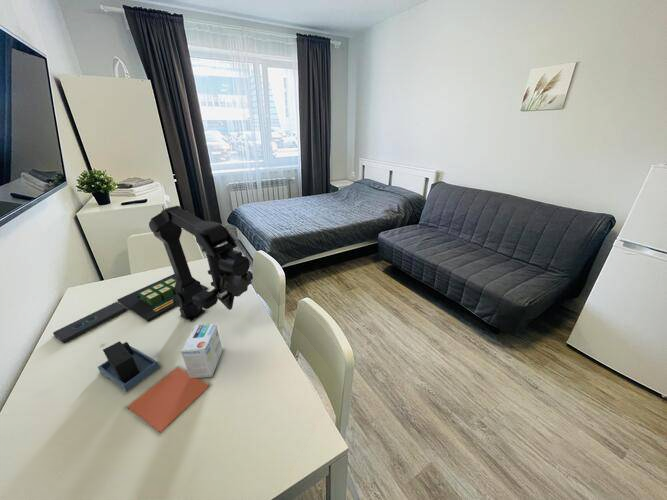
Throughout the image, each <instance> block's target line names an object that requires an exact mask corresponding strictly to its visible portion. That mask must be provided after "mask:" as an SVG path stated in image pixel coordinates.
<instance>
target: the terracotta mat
mask: <svg viewBox="0 0 667 500" xmlns="http://www.w3.org/2000/svg"><path fill="white" fill-rule="evenodd" d="M209 387H210V385H209V384H207V383H206V382H204V381H202V380H201V379H200V378H190V377H189V374H188V371H185V370H184V369H182V368H180V367H175V368H174V369H173V370H172V371H170V372H169V373H168V374H167V375H165V376H164V377H163V378H162V379H161V380H159V381H158V382H156V383H155V384H154V385H153V386H151V387H150V388H149V389H148V390H147V391H145V392H144V393H143V394H141V396H139V397H138V398H136V399H135V400H134V401H133V402H132V403H130V404H129V405H128V406H127V409H129V410H130V411H131V412H133V413H134V414H135V415H136V416H138V417H139V418H141V420H143V421H144V422H146V423H147V424H148V425H149V426H151V427H152V428H154V429H155V430H156V431H158V432H159V433H162V432H163V431H164V430H165V429H166V428H167V427H169V425H170V424H171V423H173V422H174V421H175V420H176V419H177V418H178V417H179V416H180V415H181V414H182V413H183V412H184V411H185V410H186V409H188V407H189V406H191V404H193V403H194V401H196V400H197V398H199V397H200V396H201V395H202V394H203V393H204V392H205V391H206V390H207V389H208V388H209Z"/></svg>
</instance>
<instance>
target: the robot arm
mask: <svg viewBox="0 0 667 500" xmlns="http://www.w3.org/2000/svg"><path fill="white" fill-rule="evenodd" d="M148 227H149V230H150V231H151V232H152V233H153V235H154V237H155V238H156V239H158V240H160V242H162V243H163V246H164V249H165V251H166V254H167V257H168V260H169V263H170V266H171V268H172V271H173V274H175V276H176V279H177V281H176V284H175V288H174V289H175V293H176V295H175V297H174V298H173V302H174V304H175V305H176V307H178V308H179V313H180V314H179V315H180V317H181V318H182V319H185V320H188V321H190V322H192V321H194V320H196V319H197V318H198V317H200V316H201V315H203V314H204V313H206V310H208V309H211V308H212V307H214V306H215V305H217V303H218V301H220V302H221V303H222V305H223V306H224V307H225V308H226V309H227V310H228V311H231V310H232V309H233V307H234V306H233V305H234V300H235V297H236V298H238V297H241V295H242V294H244V293H245V292H247V291H248V288H249V286H250V285H251V284H252V280H253V279H254V275H253V273H252V271H251V270H250V267H251V261H250V260H249V258H248V257H247V256H246V255H243V253H242V251H240V250H236V248H237V247H238V245H237V243H236V239H234V237H233V236H232V234H231V233H230V232H229V231H228V229H227V228H226V226H224V225H223V224H221V223H220V222H216V221H206V220H203V219H201V218H200V217H198V216H196V215H194V214H192V213H190V212H188V211H187V210H185V209H184V207H182V206H181V205H174V206H169V207H166V208H164V209H162V210H161V212H160V213H158V214H157V215H154V216H153V217H151V218H150V221H149V222H148ZM183 230H184V231H185V232H187V233H189V234H190V235H192V236H194V237H195V241H196V243H197V245H199V246H200V247H201V251H202V252H203V253H205V255H206V259H207V263H208V267H209V270H207V274H208V275H210V276H211V280H212V282H210V286H211V287H214V288H212V289H210V291H209V290H203V288H202V286H201V285H202V284H201V282H200V281H199V280H197V279H196V278H194V277H193V276H192V272H191V269H190V267H189V264H188V260H187V258H186V254H185V252H184V249H183V246H182V243H181V240H180V238H181V236H182V232H183Z"/></svg>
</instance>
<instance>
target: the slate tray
mask: <svg viewBox="0 0 667 500" xmlns="http://www.w3.org/2000/svg"><path fill="white" fill-rule="evenodd" d="M130 347H131V349H132V351H133V353H134V354H133V355H132V357H133V359H134V361H135V363H136V366H137V368H138V370H139V372H140V373H139V374H138V375H136V376H135V377H134V378H132V379H131V380H129V381H128V382H127V383H123V382H122V381H121V380H120V378H119V377H118V375H117V374H116V372H115V371H114V369H113V368H112V367H111V365H110V363H109V361H108V360H106V361H105V362H103V363H101V364H100V365H98V366H97V369H98V371H99V373H100V374H101V375H103V376H104V377H106V378H107V379H108V380H109V381H111V382H112V383H114V384H115V385H116V386H118V387H119V388H120V389H122V390H124V391H125V392H126V393H128V392H129V391H131V390H132V389H133V388H134V387H136V386H138V385H139V384H140V383H141V382H143V381H144V380H146V379H147V378H148V377H149V376H151V375H152V374H153V373H155V372H156V371H157V370H158V369H160V364H159V361H157V360H155V359H153V358H152V357H150V356H149V355H147V354H145V353H144V352H142V351H140V350H138V349H137V348H135V347H133V346H132V345H130Z"/></svg>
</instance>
